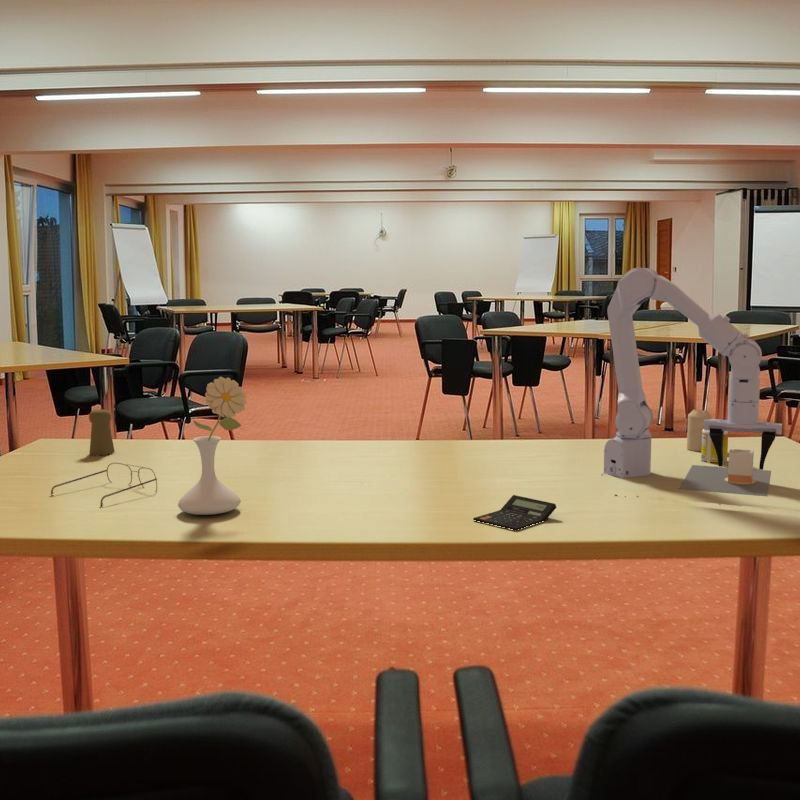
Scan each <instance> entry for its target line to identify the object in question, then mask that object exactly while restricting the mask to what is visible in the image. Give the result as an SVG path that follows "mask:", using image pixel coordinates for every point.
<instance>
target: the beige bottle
mask: <svg viewBox="0 0 800 800" xmlns="http://www.w3.org/2000/svg"><path fill="white" fill-rule="evenodd" d="M712 417H713V416H712V414H711V413H710V412H709V410H708V409H704V410H701V409H696V408H694V409H692V411H690V413H688V414H687V428H686V429H687V434H686V449H687V450H688V451H692V452H701V448H702V430H703V429H704V421H705V420H709V419H713V418H712Z"/></svg>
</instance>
